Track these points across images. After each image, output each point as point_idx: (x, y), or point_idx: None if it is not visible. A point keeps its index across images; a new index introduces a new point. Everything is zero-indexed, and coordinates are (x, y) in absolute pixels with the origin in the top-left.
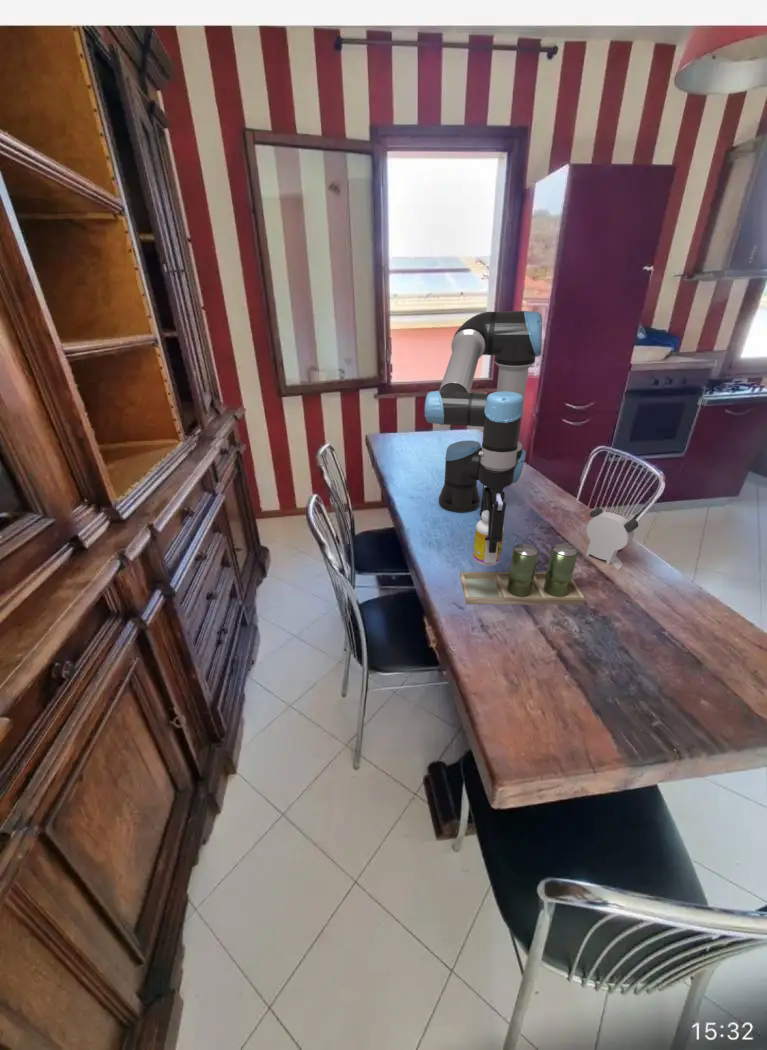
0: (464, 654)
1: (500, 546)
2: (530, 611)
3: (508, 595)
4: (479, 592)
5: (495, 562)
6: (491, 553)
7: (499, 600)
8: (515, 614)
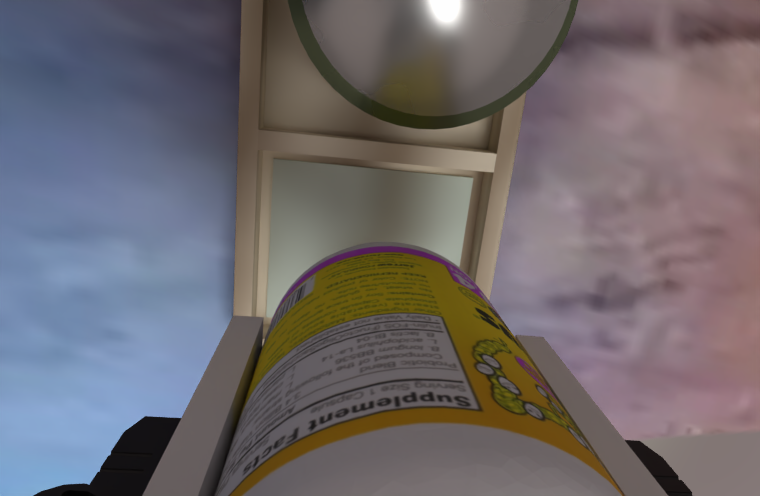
0: (728, 401)
1: (525, 358)
2: None
3: None
4: None
5: (543, 340)
6: None
7: (504, 202)
8: (556, 123)
